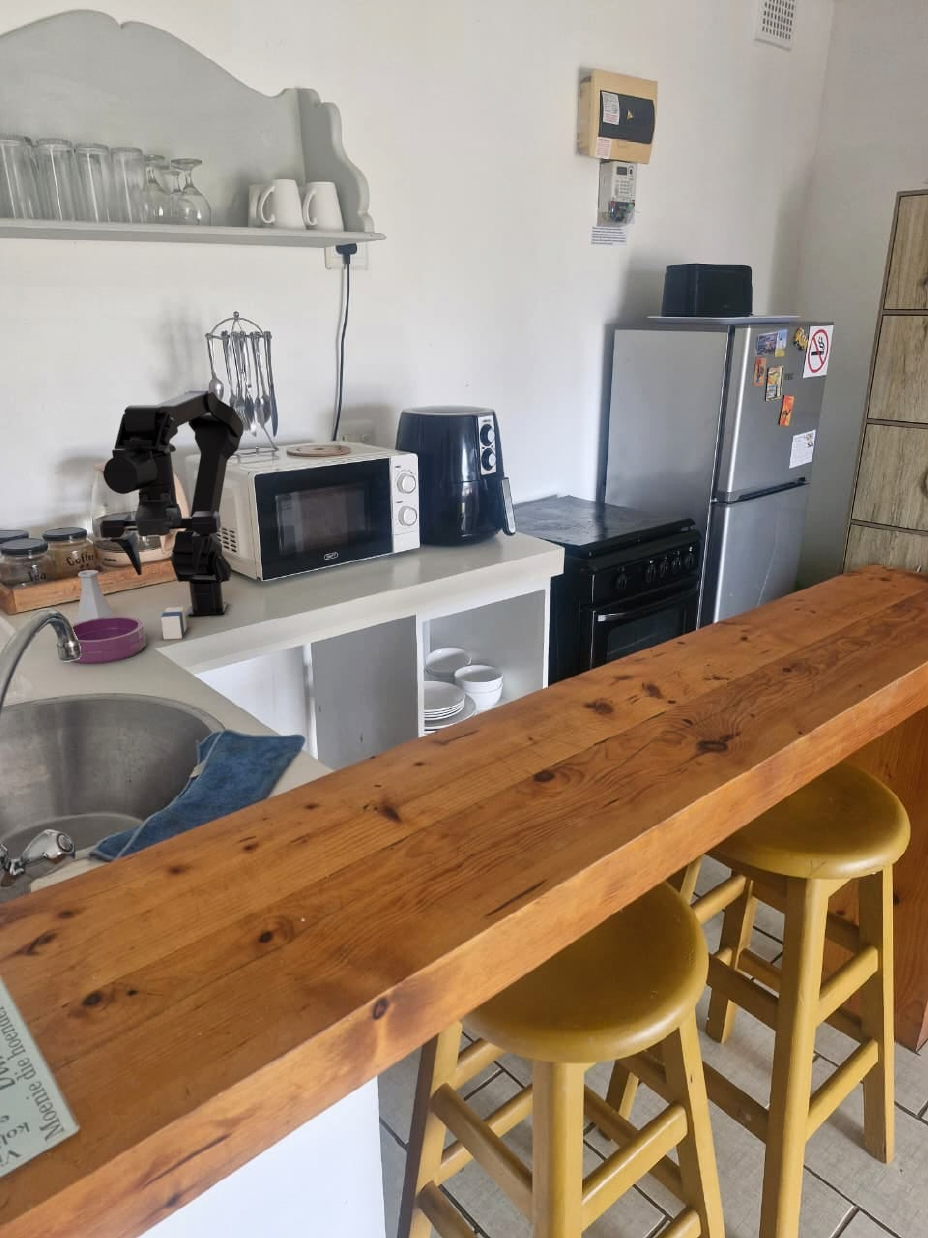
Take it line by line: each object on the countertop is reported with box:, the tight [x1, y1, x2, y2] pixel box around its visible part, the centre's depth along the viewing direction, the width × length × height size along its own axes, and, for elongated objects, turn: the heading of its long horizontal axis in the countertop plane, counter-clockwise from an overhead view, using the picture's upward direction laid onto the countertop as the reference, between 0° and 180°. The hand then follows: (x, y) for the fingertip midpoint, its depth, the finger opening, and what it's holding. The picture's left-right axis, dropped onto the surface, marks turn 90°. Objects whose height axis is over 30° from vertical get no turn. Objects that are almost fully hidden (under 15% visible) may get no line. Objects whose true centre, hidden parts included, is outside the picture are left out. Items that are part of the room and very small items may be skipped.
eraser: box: [160, 606, 188, 640], centre depth 152 cm, size 6×3×4 cm, turn 8°
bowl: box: [72, 615, 147, 665], centre depth 144 cm, size 13×13×4 cm
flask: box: [74, 569, 117, 624], centre depth 155 cm, size 7×7×10 cm
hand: (167, 573), depth 149 cm, fingers open, 9 cm apart
